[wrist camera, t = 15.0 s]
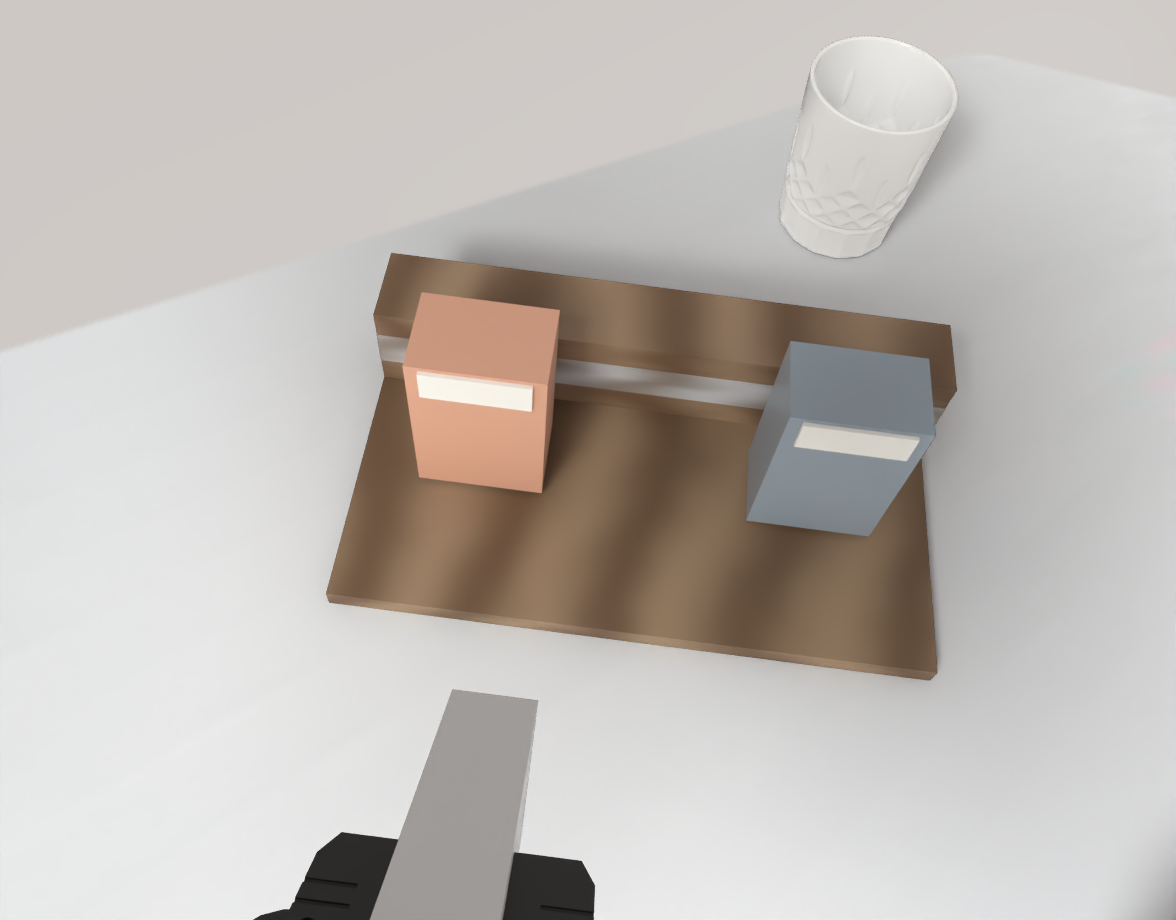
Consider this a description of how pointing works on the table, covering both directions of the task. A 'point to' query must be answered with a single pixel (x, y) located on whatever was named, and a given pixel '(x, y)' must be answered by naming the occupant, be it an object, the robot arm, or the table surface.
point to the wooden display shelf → (642, 486)
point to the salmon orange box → (481, 390)
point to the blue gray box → (838, 438)
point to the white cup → (862, 142)
